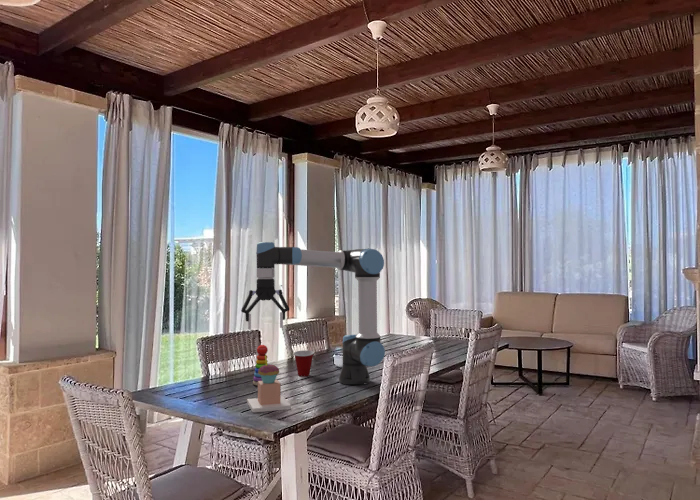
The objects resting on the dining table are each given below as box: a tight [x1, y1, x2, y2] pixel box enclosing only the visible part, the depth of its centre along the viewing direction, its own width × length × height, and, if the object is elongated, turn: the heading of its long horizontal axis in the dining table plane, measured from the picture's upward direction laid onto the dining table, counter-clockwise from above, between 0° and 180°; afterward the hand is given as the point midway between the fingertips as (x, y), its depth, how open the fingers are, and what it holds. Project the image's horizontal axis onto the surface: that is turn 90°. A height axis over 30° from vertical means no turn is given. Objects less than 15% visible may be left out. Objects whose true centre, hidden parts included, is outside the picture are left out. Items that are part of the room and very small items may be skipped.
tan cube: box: [257, 379, 282, 405], centre depth 212 cm, size 8×7×8 cm
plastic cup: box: [293, 349, 315, 377], centre depth 269 cm, size 11×11×12 cm
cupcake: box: [258, 353, 280, 384], centre depth 212 cm, size 9×8×12 cm
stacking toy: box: [252, 344, 269, 387], centre depth 249 cm, size 8×8×19 cm
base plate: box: [246, 395, 292, 413], centre depth 212 cm, size 15×15×2 cm
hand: (265, 328), depth 222 cm, fingers open, 13 cm apart
